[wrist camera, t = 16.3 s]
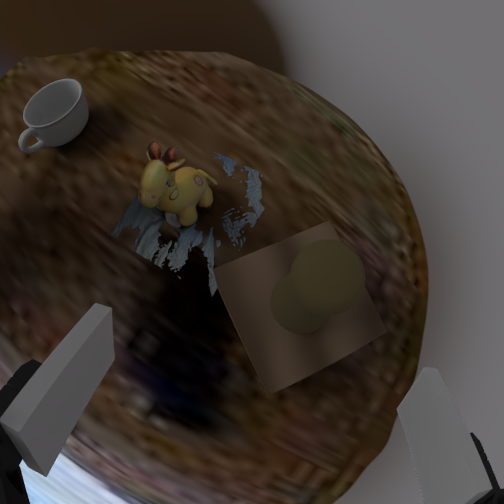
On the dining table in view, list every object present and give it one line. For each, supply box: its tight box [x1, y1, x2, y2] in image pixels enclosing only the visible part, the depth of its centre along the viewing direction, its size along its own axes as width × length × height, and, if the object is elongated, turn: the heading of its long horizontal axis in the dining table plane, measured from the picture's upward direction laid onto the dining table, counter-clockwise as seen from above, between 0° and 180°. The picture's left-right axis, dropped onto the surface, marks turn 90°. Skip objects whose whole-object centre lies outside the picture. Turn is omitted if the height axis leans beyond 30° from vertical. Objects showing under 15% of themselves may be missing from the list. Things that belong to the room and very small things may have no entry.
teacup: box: [19, 79, 89, 153], centre depth 41 cm, size 14×11×8 cm
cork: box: [270, 239, 366, 334], centre depth 25 cm, size 6×6×11 cm
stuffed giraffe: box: [110, 142, 265, 296], centre depth 35 cm, size 16×18×16 cm
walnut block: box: [213, 220, 387, 394], centre depth 34 cm, size 13×13×8 cm
